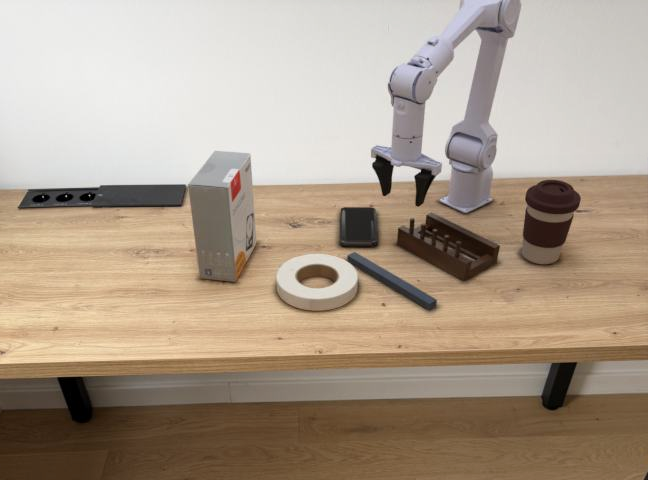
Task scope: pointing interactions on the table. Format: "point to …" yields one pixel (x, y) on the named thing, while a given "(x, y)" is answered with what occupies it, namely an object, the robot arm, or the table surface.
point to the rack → (450, 237)
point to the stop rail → (392, 281)
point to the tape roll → (317, 297)
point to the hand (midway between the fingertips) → (402, 199)
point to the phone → (358, 227)
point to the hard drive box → (223, 215)
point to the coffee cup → (548, 220)
